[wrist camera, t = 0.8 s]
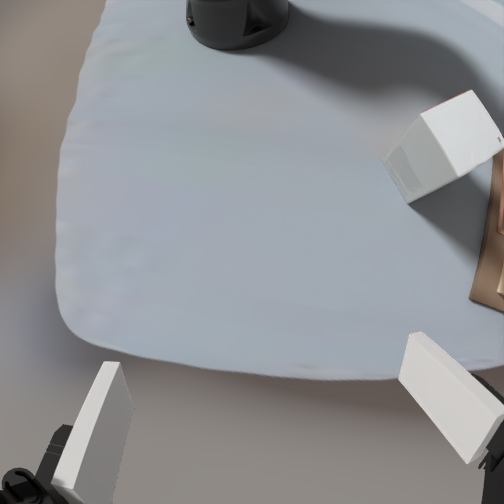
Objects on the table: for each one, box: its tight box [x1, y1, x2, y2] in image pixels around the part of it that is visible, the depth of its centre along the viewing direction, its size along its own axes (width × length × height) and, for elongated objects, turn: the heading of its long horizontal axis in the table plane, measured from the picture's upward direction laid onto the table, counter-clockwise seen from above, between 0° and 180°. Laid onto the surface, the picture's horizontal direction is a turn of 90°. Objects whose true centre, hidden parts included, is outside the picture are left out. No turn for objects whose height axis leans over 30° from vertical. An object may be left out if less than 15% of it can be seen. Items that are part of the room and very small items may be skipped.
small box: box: [382, 90, 504, 204], centre depth 26 cm, size 8×6×13 cm
